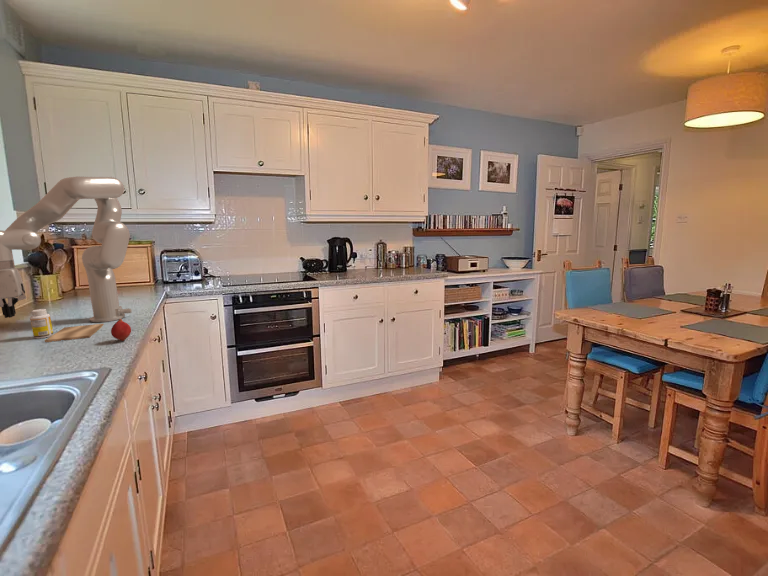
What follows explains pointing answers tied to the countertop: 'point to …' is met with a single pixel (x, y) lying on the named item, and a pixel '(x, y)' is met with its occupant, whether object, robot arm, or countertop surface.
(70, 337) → the wooden cutting board
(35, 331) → the supplement bottle
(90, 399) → the countertop surface
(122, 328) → the onion
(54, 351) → the countertop surface
